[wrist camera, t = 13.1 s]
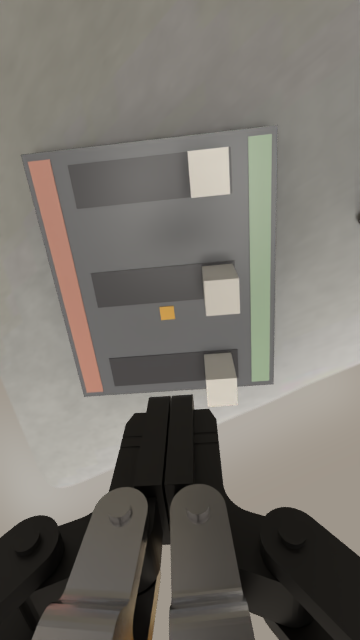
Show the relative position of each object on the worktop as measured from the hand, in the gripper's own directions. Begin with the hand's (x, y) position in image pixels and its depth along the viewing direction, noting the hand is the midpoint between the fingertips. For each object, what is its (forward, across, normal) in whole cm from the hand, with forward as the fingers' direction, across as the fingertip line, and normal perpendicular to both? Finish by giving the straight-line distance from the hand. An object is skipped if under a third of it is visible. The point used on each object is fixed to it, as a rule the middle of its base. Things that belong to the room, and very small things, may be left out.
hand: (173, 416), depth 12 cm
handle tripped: (+17, -3, 0) cm, 17 cm away
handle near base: (+17, -2, -8) cm, 19 cm away
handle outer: (+17, -2, +8) cm, 19 cm away
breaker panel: (+19, +2, +1) cm, 19 cm away
